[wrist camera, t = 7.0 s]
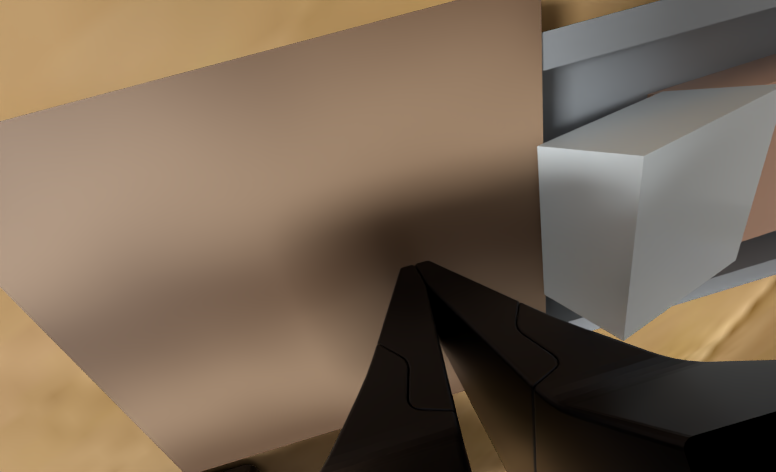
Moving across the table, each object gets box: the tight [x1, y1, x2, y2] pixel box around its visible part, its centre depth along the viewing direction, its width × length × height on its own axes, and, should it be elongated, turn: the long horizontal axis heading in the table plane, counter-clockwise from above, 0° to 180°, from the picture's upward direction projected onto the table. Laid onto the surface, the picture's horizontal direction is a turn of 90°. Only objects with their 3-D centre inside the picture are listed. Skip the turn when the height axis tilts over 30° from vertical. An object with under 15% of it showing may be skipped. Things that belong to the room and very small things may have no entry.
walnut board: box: [0, 0, 546, 472], centre depth 10 cm, size 12×14×2 cm
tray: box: [542, 0, 776, 331], centre depth 11 cm, size 10×12×2 cm
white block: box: [537, 84, 776, 341], centre depth 9 cm, size 5×5×2 cm
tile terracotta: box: [647, 54, 776, 242], centre depth 10 cm, size 5×5×2 cm
